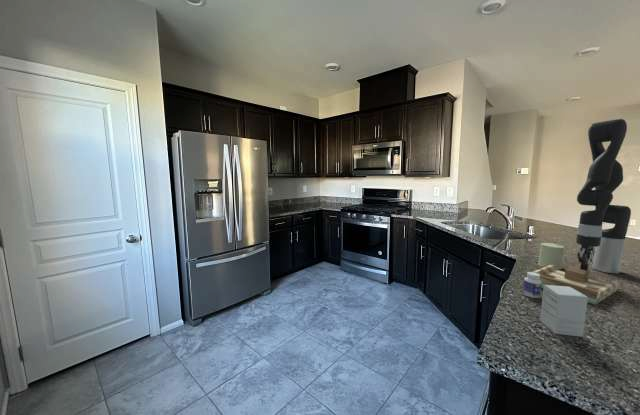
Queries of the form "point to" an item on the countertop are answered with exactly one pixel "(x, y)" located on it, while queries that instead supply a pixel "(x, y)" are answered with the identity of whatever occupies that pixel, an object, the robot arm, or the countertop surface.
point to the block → (576, 274)
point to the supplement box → (563, 310)
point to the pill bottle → (532, 285)
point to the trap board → (577, 284)
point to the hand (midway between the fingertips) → (583, 271)
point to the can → (551, 255)
